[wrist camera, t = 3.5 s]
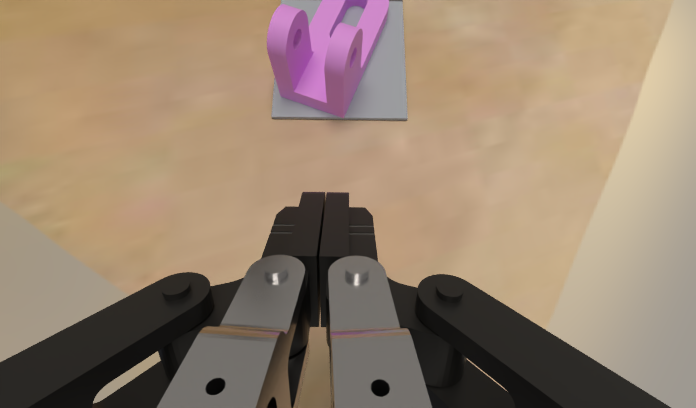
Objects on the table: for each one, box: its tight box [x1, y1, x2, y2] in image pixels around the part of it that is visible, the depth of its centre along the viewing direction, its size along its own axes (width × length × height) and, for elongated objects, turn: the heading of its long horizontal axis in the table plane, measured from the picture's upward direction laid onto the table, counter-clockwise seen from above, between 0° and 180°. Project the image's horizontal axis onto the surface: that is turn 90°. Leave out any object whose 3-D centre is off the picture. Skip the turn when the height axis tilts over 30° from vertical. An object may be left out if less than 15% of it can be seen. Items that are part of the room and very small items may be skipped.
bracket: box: [267, 0, 389, 118], centre depth 28 cm, size 13×6×7 cm, turn 159°
